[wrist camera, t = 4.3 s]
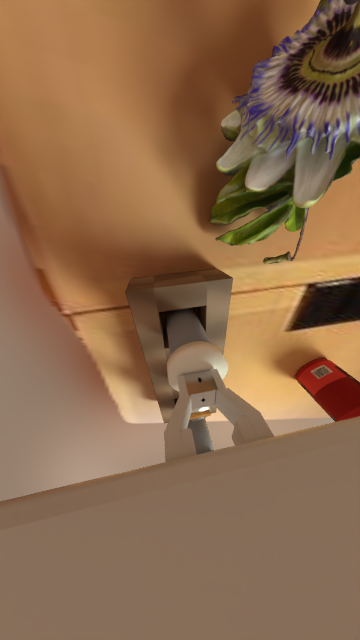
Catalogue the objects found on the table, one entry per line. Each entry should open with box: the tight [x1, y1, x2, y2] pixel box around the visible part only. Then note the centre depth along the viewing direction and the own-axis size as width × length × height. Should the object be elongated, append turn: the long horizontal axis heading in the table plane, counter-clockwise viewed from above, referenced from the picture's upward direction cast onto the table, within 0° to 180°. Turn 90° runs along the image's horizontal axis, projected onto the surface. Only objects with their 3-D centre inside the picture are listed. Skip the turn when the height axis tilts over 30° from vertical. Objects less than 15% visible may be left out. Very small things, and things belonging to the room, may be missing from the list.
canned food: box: [296, 359, 360, 422], centre depth 28 cm, size 8×8×11 cm
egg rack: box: [125, 269, 233, 423], centre depth 22 cm, size 26×10×4 cm, turn 4°
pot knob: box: [179, 394, 211, 421], centre depth 18 cm, size 3×3×6 cm
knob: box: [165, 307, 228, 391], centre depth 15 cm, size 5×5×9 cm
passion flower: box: [210, 0, 360, 264], centre depth 10 cm, size 11×11×12 cm
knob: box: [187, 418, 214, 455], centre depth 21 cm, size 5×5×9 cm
